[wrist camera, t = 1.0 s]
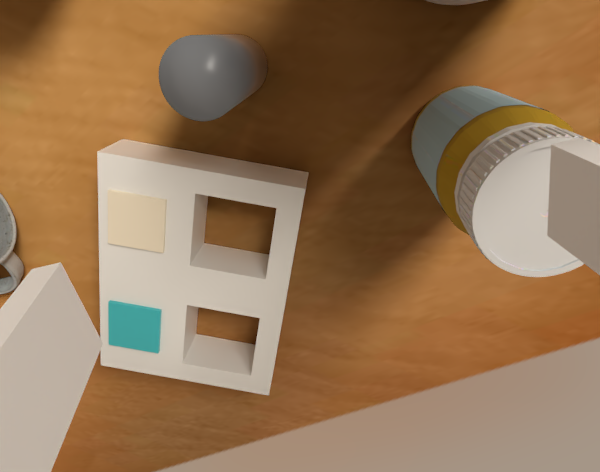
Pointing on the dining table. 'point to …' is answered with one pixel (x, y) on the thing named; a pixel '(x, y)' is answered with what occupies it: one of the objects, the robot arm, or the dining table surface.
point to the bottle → (494, 174)
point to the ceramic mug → (9, 249)
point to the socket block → (189, 263)
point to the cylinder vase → (454, 2)
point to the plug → (211, 74)
